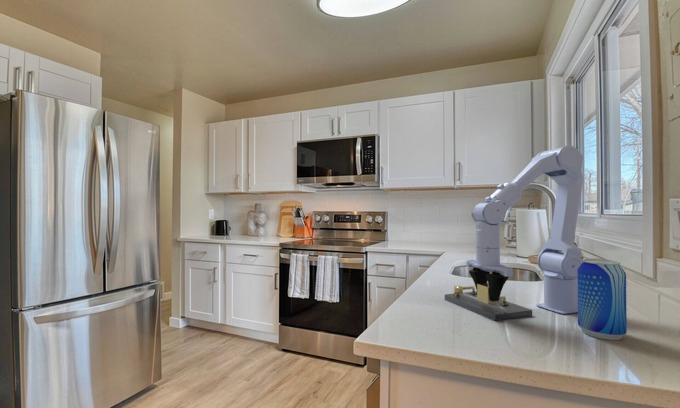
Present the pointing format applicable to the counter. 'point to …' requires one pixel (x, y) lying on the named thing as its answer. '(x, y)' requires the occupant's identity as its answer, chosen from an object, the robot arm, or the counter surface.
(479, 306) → the bolt plate
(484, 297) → the leg
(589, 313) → the beer can
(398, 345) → the counter surface
